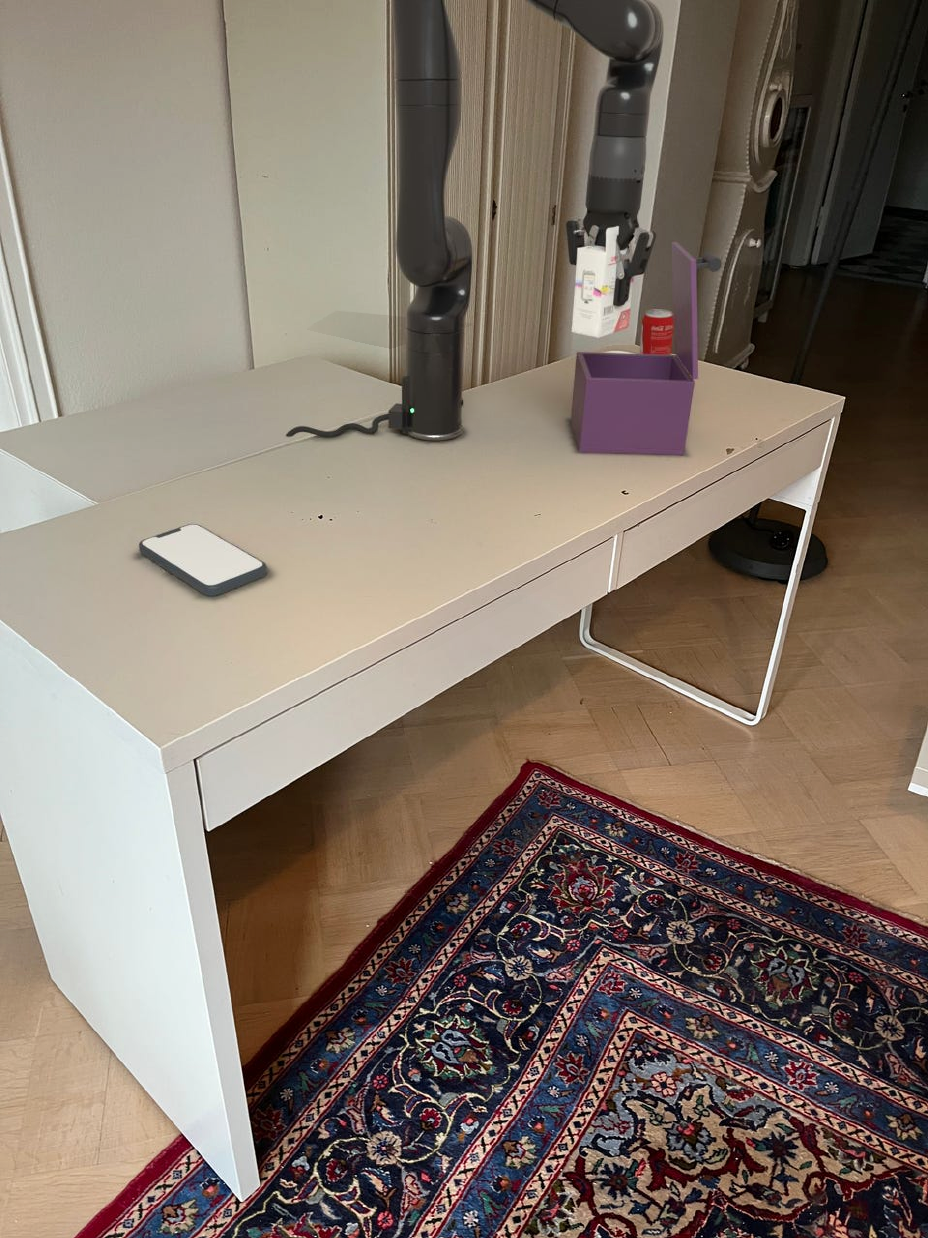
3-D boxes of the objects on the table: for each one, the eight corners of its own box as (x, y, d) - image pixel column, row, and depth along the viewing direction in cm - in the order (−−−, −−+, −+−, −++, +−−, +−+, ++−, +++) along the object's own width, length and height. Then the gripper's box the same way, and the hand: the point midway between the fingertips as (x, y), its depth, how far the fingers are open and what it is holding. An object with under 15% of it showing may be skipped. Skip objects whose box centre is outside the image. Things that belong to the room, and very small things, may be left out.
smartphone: (272, 576, 115) (197, 531, 125) (271, 564, 115) (195, 520, 124) (209, 601, 110) (135, 553, 119) (208, 589, 109) (133, 541, 118)
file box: (579, 452, 153) (586, 378, 147) (570, 420, 166) (576, 351, 160) (683, 455, 154) (695, 382, 147) (666, 422, 167) (676, 354, 161)
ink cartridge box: (600, 322, 144) (611, 217, 137) (629, 328, 142) (641, 221, 134) (568, 332, 139) (578, 223, 131) (597, 338, 136) (609, 228, 128)
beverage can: (671, 391, 182) (682, 310, 175) (658, 399, 178) (669, 317, 170) (642, 385, 185) (652, 305, 177) (628, 393, 180) (638, 312, 173)
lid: (690, 260, 138) (729, 254, 138) (671, 242, 151) (707, 236, 151) (692, 379, 147) (729, 374, 147) (674, 352, 160) (708, 347, 160)
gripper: (556, 168, 131) (547, 296, 140) (645, 179, 123) (629, 315, 132) (589, 165, 136) (578, 289, 145) (676, 176, 128) (659, 306, 136)
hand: (602, 301), depth 138 cm, fingers closed on ink cartridge box, 5 cm apart
